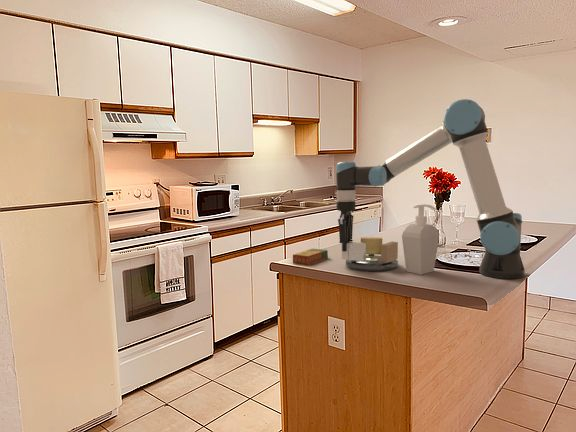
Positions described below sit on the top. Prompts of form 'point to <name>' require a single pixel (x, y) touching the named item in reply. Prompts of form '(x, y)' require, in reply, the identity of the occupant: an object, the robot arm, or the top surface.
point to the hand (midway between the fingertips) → (346, 258)
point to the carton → (310, 256)
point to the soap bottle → (420, 244)
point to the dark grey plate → (372, 264)
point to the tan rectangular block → (389, 252)
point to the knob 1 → (356, 251)
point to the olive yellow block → (372, 245)
